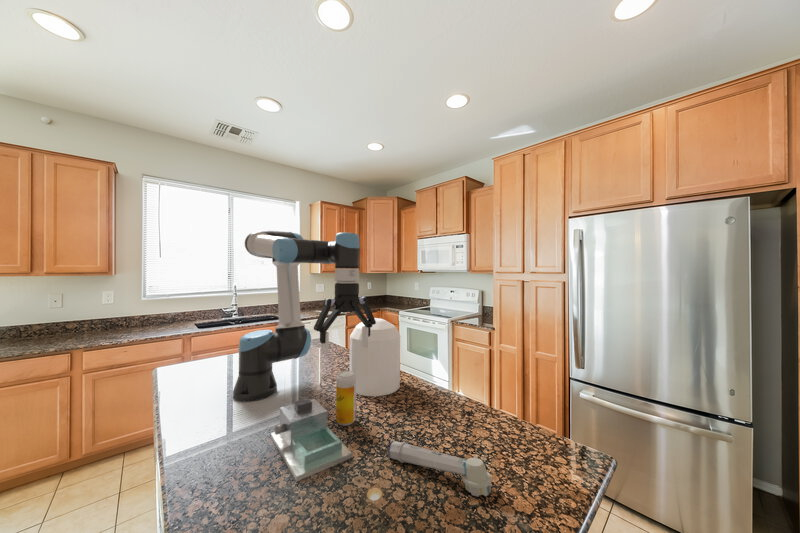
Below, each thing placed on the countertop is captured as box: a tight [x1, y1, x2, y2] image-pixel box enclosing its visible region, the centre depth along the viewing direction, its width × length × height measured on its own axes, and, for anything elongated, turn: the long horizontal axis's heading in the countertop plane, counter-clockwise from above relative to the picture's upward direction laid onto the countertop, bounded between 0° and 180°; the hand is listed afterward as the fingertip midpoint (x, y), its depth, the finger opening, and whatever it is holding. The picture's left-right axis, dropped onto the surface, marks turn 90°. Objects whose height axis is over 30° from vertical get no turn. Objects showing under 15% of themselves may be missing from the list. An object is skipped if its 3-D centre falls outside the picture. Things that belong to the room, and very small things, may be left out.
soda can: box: [335, 370, 357, 427], centre depth 92 cm, size 6×6×15 cm
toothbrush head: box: [387, 440, 493, 497], centre depth 68 cm, size 5×7×25 cm
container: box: [348, 317, 401, 397], centre depth 121 cm, size 21×21×28 cm
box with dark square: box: [270, 398, 353, 483], centre depth 78 cm, size 22×14×10 cm, turn 38°
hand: (346, 350), depth 91 cm, fingers open, 13 cm apart
